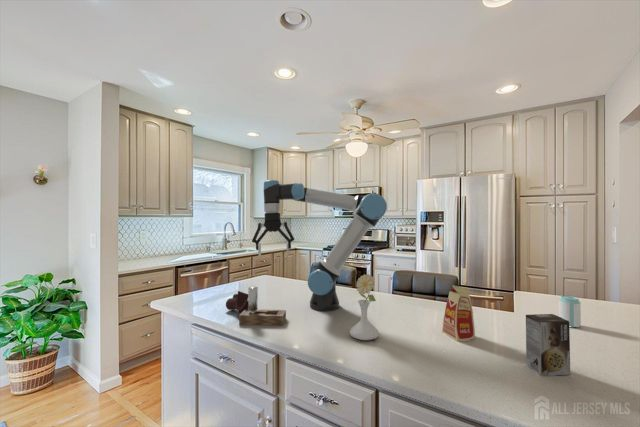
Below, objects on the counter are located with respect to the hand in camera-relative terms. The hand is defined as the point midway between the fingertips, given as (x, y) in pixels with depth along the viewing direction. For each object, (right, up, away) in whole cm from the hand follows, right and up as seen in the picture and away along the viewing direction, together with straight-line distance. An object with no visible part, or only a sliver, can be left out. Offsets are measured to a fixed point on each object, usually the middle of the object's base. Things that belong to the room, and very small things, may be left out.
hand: (273, 256), depth 141 cm
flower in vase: (+40, -27, -29) cm, 56 cm away
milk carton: (+77, -27, -26) cm, 86 cm away
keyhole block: (-3, -27, -11) cm, 30 cm away
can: (+129, -28, -16) cm, 133 cm away
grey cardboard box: (+92, -27, -52) cm, 109 cm away
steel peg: (-8, -26, -11) cm, 30 cm away
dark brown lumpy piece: (-16, -27, 0) cm, 31 cm away
